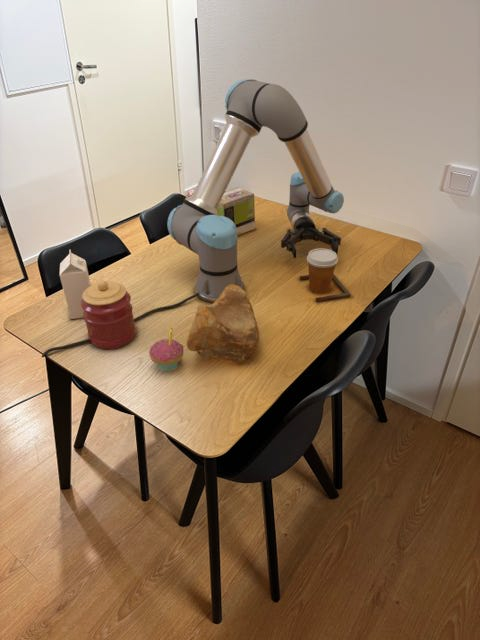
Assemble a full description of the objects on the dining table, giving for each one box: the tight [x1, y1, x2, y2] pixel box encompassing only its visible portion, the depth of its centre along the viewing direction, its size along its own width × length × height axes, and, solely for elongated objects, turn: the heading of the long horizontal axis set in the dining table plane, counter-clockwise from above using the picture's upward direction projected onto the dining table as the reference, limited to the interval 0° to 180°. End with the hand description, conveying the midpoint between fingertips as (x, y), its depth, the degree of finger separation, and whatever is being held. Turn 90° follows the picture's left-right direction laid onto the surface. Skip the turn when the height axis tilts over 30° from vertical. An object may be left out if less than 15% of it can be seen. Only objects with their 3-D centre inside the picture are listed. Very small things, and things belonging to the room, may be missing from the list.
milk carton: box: [59, 249, 92, 320], centre depth 142 cm, size 7×7×19 cm
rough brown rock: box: [186, 284, 260, 364], centre depth 127 cm, size 23×17×15 cm
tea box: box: [217, 187, 256, 236], centre depth 188 cm, size 15×10×15 cm
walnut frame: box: [299, 273, 352, 303], centre depth 157 cm, size 11×15×1 cm
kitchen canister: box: [81, 279, 137, 350], centre depth 132 cm, size 13×13×18 cm
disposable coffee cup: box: [306, 247, 339, 294], centre depth 153 cm, size 10×10×12 cm
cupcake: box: [148, 327, 184, 372], centre depth 123 cm, size 9×8×12 cm
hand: (315, 253), depth 159 cm, fingers open, 13 cm apart
